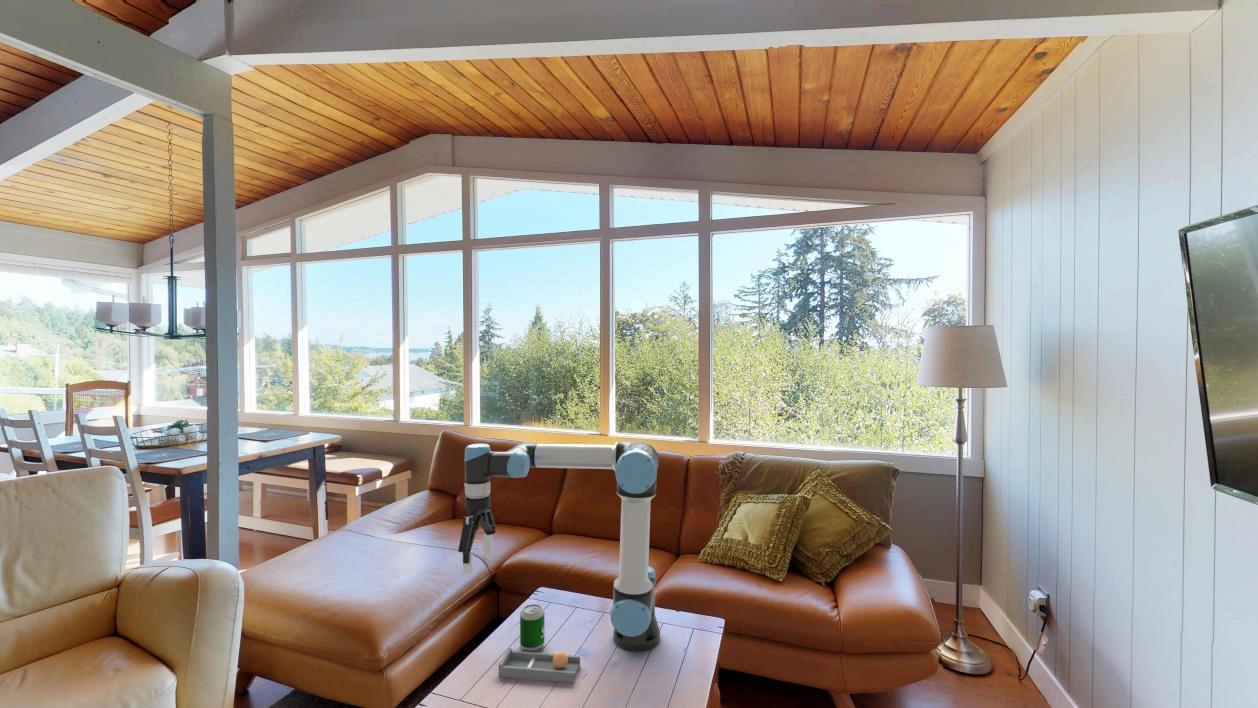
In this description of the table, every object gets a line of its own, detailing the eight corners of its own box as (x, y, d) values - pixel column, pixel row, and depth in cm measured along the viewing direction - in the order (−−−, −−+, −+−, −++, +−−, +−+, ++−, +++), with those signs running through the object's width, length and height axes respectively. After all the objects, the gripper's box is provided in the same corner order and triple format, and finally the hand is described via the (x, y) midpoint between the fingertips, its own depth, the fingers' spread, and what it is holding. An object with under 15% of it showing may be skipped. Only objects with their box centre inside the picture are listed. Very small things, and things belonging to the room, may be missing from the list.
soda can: (539, 654, 165) (539, 616, 165) (516, 651, 167) (516, 613, 166) (547, 641, 173) (547, 604, 172) (525, 638, 174) (525, 601, 174)
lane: (580, 665, 160) (580, 653, 160) (574, 683, 152) (574, 670, 152) (508, 659, 163) (508, 648, 162) (498, 676, 154) (498, 664, 154)
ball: (569, 663, 158) (569, 648, 158) (565, 672, 154) (565, 657, 154) (554, 662, 159) (554, 647, 159) (550, 671, 154) (550, 656, 154)
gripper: (484, 483, 178) (485, 547, 179) (445, 506, 154) (446, 580, 155) (505, 484, 177) (506, 548, 178) (469, 508, 152) (470, 582, 153)
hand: (478, 563), depth 166 cm, fingers open, 13 cm apart
